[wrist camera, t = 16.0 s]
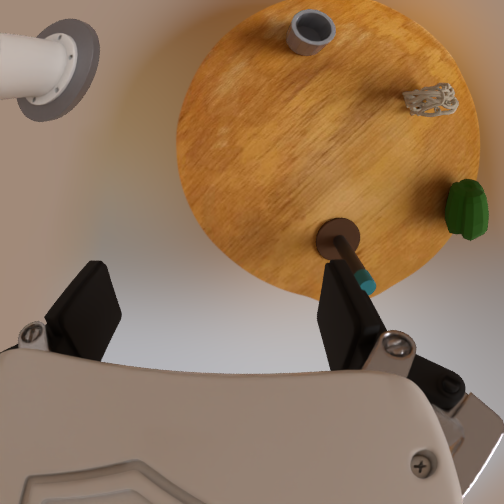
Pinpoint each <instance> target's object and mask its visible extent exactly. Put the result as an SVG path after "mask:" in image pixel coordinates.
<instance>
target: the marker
mask: <svg viewBox="0 0 504 504" xmlns="http://www.w3.org/2000/svg"><path fill="white" fill-rule="evenodd" d="M333 244H334V246H335V247H336V249H337V251H338V253H339V255H340V256H341V258H342V259H345V261H346V262H347V264H348V266H349V267H350V269H351V271H352V273H353V275H354V276H355V278H356V280H357V282H358V283H359V285H360V287H361V289H362V290H365V291H366V292H367V294H368V295H370V294H372V293H373V292H374V291H375V289H376V283H375V282H374V280H373V278H372V277H371V275H370V274H369V272H368V271H367V270H366V269H365V267H364V266H363V264H362V263H361V261H360V260H359V258H358V256H357V255H356V253H355V252H354V250H353V249H352V247H351V246H350V244H349V243H348V241H347V240H346V238H345V237H344V236H342V235H338V236H336V237H335V238H334V240H333Z"/></svg>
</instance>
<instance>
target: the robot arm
mask: <svg viewBox="0 0 504 504" xmlns="http://www.w3.org/2000/svg"><path fill="white" fill-rule="evenodd" d="M77 56H78V53H77V46H76V43H75V41H74V39H73V38H72V37H71V36H69V35H66V34H63V33H56V34H53V35H50V36H48V37H46V38H45V39H41V38H35V37H29V36H22V35H16V34H7V33H0V100H3V99H11V98H22V97H25V98H26V99H27V100H28V102H30V103H31V104H34V105H45V104H48V103H50V102H52V101H54V100H55V99H56V98H57V97H59V96H60V95H61V93H62V92H63V91H64V90H65V89H66V87H67V85H68V84H69V82H70V80H71V78H72V76H73V74H74V71H75V68H76V64H77ZM121 316H122V313H121V309H120V307H119V304H118V301H117V298H116V295H115V292H114V288H113V285H112V282H111V279H110V275H109V272H108V269H107V266H106V265H105V264H104V263H103V262H102V261H89V262H88V263H87V264H86V266H85V267H84V268H83V269H82V270H81V271H80V272H79V274H78V275H77V276H76V277H75V278H74V280H73V281H72V282H71V283H70V285H69V286H68V287H67V288H66V289H65V291H64V292H63V293H62V295H61V296H60V297H59V298H58V299H57V301H56V302H55V303H54V305H53V306H52V307H51V309H50V310H49V311H48V313H47V314H46V315H45V317H44V318H45V320H46V322H47V324H46V325H44V324H43V323H42V322H39V321H37V322H36V321H35V322H32V323H30V324H28V325H26V326H25V327H24V328H23V329H22V330H21V332H20V334H19V337H18V344H17V345H15V346H13V347H11V348H8V349H6V350H4V351H3V352H0V504H464V503H463V498H464V497H465V495H466V494H467V493H468V491H469V490H470V489H471V487H472V486H473V484H474V483H475V481H476V480H477V478H478V477H479V475H480V474H481V472H482V471H483V469H484V468H485V466H486V464H487V463H488V461H489V460H490V458H491V456H492V454H493V453H494V451H495V449H496V447H497V445H498V444H499V442H500V440H501V438H502V436H503V433H504V423H503V420H502V419H501V418H500V417H499V416H498V415H497V414H496V413H495V412H494V411H493V410H491V409H490V408H489V407H488V406H487V405H485V404H484V403H483V402H482V401H481V400H480V399H478V398H477V397H476V396H475V395H473V394H472V393H470V394H469V395H468V394H467V393H466V392H465V384H464V381H463V380H462V378H461V377H460V376H459V375H458V374H456V373H455V372H453V371H451V370H449V369H446V368H444V367H442V366H440V365H438V364H436V363H433V362H431V361H429V360H427V359H425V358H423V357H421V356H419V355H417V354H415V353H416V345H415V342H414V341H413V339H412V338H411V337H410V336H409V335H407V334H405V333H404V332H401V331H397V330H390V331H387V330H386V328H385V326H384V324H383V322H382V320H381V318H380V316H379V314H378V313H377V311H376V309H375V307H374V305H373V303H372V301H371V299H370V298H369V296H368V294H367V292H366V291H365V290H362V289H361V287H360V285H359V283H358V282H357V280H356V278H355V276H354V275H353V273H352V271H351V269H350V267H349V266H348V264H347V262H346V261H345V259H331V260H330V263H326V265H325V270H324V277H323V283H322V289H321V295H320V301H319V307H318V312H317V321H318V325H319V329H320V333H321V336H322V340H323V344H324V347H325V351H326V354H327V358H328V362H329V366H330V370H331V371H319V372H302V373H278V374H277V373H276V374H218V373H197V372H182V371H181V372H180V371H169V370H158V369H149V368H141V367H133V366H125V365H119V364H112V363H105V362H101V359H102V357H103V355H104V353H105V351H106V349H107V347H108V344H109V342H110V340H111V338H112V336H113V334H114V332H115V330H116V328H117V326H118V324H119V322H120V320H121Z"/></svg>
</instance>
